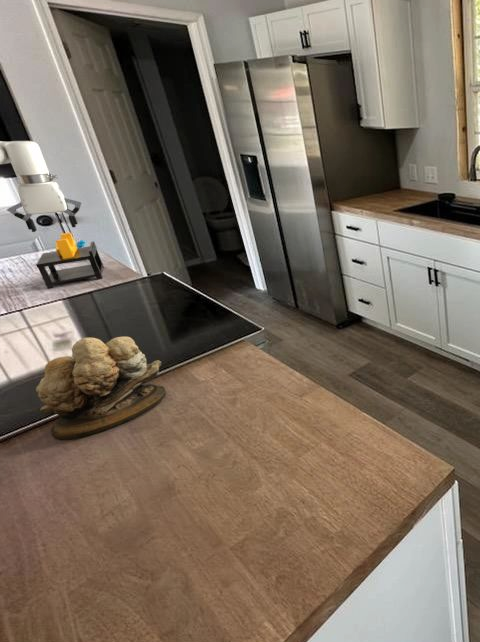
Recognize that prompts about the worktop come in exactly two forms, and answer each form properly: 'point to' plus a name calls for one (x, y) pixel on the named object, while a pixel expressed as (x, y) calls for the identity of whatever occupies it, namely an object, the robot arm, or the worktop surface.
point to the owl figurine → (98, 387)
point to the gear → (81, 244)
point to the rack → (70, 273)
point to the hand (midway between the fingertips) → (54, 228)
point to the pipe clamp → (66, 246)
